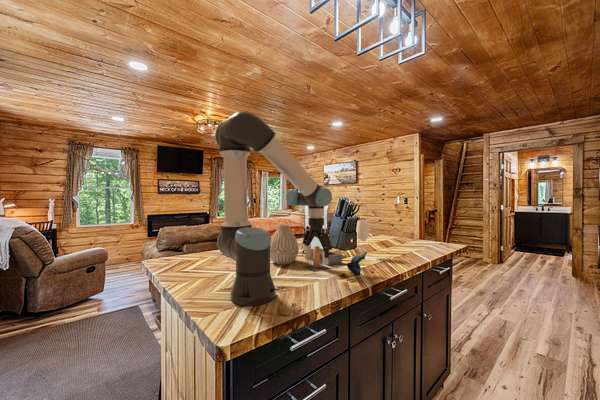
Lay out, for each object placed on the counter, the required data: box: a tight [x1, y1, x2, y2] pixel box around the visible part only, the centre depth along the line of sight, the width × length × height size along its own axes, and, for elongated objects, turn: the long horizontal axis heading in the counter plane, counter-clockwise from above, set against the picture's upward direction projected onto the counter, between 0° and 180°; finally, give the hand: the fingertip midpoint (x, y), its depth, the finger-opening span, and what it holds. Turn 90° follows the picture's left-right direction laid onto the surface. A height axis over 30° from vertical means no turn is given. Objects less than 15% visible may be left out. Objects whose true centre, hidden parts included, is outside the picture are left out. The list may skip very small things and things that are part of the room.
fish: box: [346, 251, 368, 276], centre depth 114 cm, size 4×10×10 cm, turn 112°
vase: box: [270, 223, 300, 266], centre depth 134 cm, size 16×16×20 cm
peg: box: [312, 245, 321, 269], centre depth 124 cm, size 3×3×10 cm
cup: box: [356, 219, 371, 242], centre depth 147 cm, size 7×7×21 cm
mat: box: [302, 264, 332, 273], centre depth 124 cm, size 10×10×1 cm
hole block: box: [305, 248, 343, 267], centre depth 137 cm, size 20×9×5 cm, turn 33°
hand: (316, 261), depth 124 cm, fingers open, 13 cm apart
